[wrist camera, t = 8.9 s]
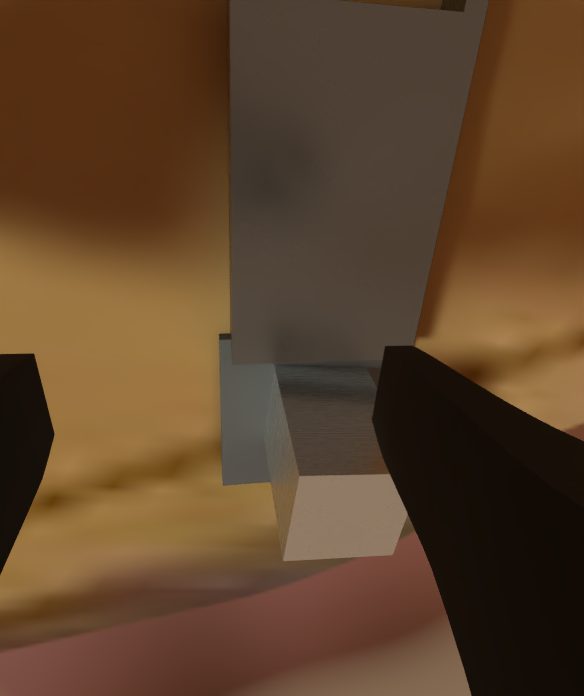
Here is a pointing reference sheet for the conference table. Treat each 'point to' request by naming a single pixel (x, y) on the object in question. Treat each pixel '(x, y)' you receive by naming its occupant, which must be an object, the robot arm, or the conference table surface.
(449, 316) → the conference table surface
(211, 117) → the conference table surface
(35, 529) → the conference table surface
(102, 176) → the conference table surface
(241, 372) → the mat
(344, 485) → the pale grey square block
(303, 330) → the rail
